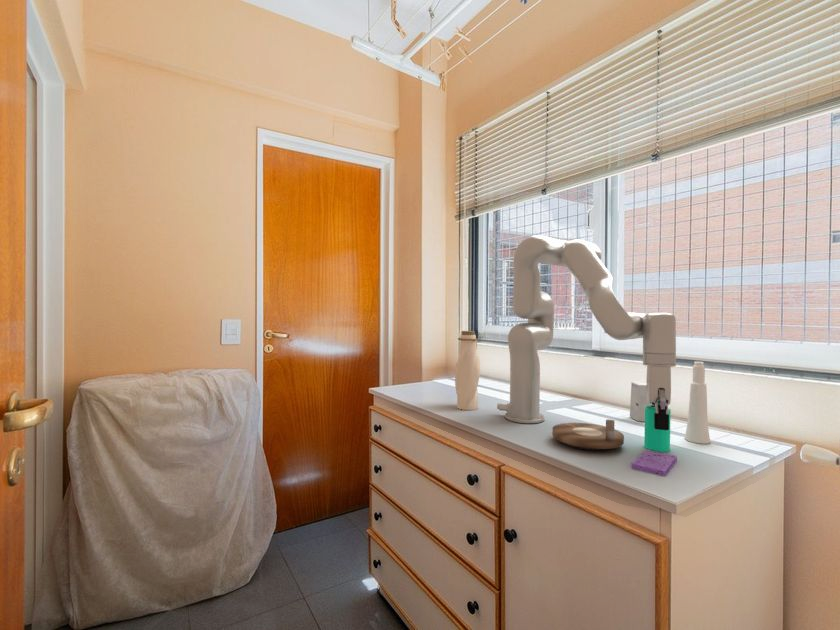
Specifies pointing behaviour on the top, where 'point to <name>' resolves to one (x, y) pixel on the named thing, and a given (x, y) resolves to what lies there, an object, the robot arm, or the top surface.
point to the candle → (655, 433)
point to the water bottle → (467, 372)
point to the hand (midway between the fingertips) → (659, 424)
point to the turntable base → (586, 448)
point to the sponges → (654, 462)
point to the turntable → (589, 435)
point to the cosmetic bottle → (698, 408)
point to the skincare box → (638, 401)
